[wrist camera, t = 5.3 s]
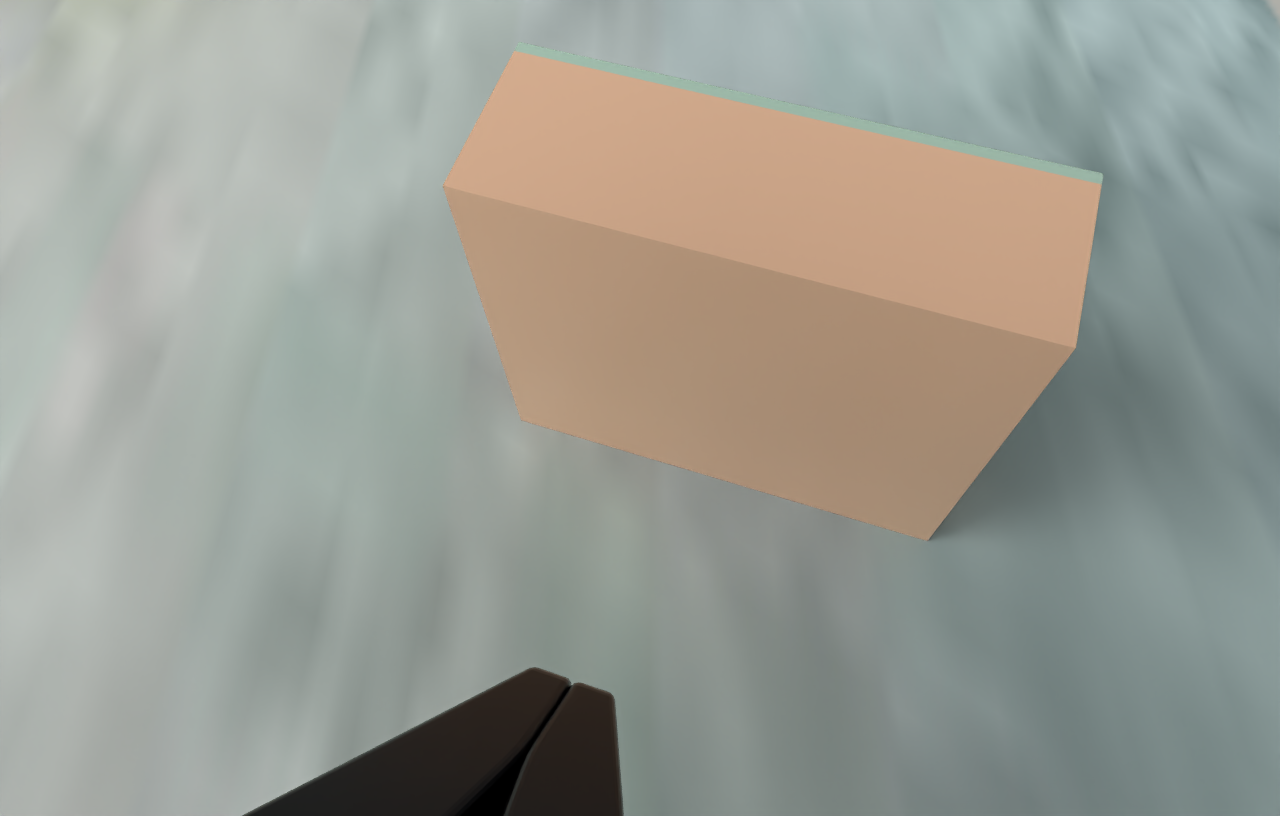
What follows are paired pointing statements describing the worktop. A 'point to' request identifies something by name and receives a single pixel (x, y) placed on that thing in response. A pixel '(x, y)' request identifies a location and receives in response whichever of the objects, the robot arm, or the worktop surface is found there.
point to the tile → (767, 283)
